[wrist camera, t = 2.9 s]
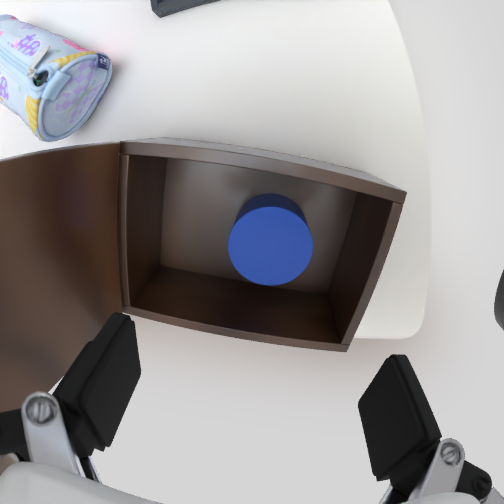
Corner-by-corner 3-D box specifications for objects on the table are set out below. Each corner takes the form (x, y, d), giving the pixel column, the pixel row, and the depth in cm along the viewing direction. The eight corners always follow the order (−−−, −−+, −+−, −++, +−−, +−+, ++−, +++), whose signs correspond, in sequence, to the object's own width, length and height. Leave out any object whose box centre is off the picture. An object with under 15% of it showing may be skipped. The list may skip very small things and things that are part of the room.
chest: (367, 173, 22) (407, 192, 15) (330, 298, 27) (346, 352, 20) (164, 137, 22) (119, 141, 14) (156, 267, 27) (121, 312, 20)
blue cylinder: (313, 200, 22) (322, 215, 18) (297, 265, 25) (301, 291, 21) (240, 187, 22) (234, 199, 18) (230, 253, 25) (222, 278, 21)
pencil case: (133, 66, 19) (70, 43, 10) (88, 144, 22) (18, 158, 13) (31, 19, 15) (-20, 8, 6) (1, 78, 18) (-52, 80, 9)
